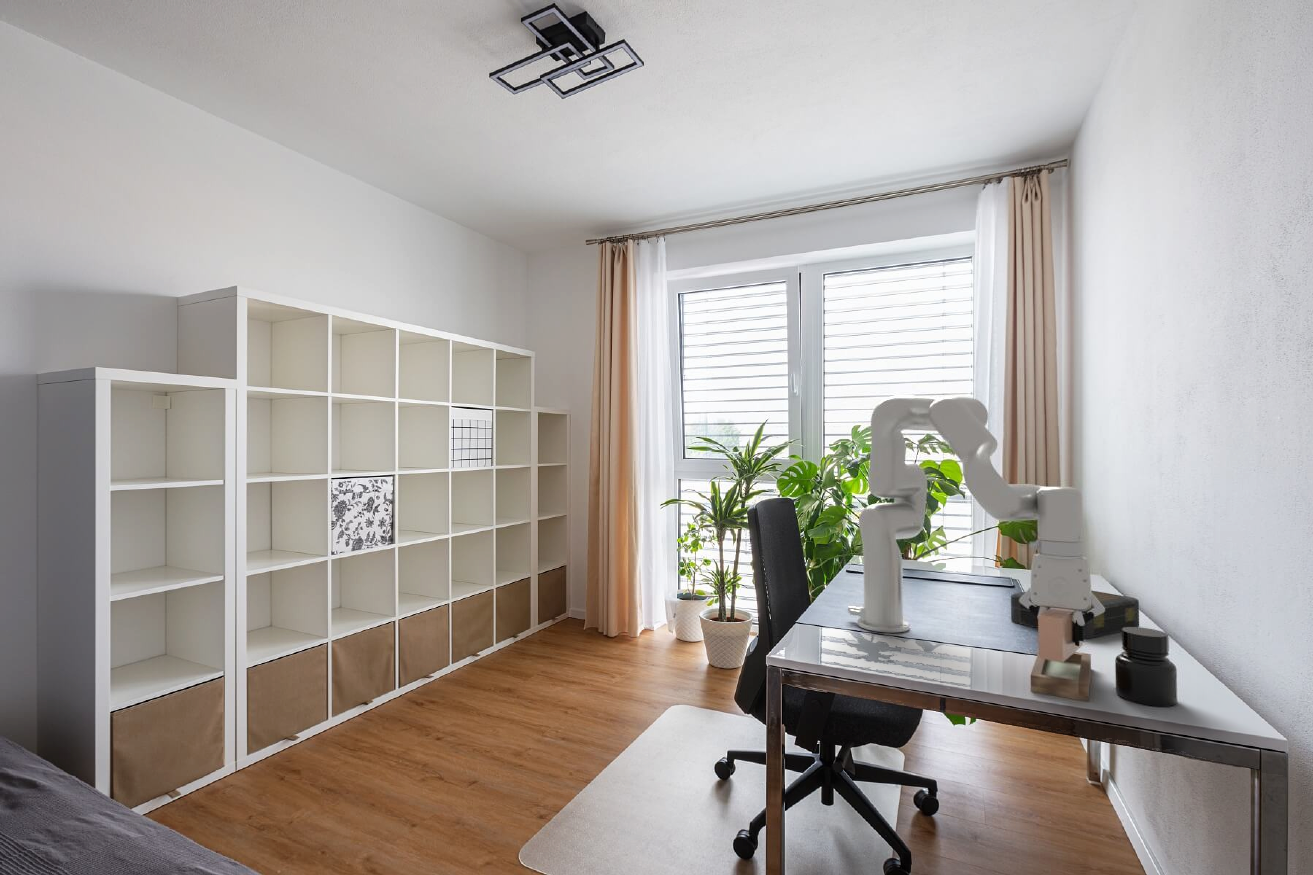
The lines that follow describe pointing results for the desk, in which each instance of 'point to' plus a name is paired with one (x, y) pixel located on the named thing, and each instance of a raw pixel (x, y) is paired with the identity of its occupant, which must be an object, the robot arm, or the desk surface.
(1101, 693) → the desk surface
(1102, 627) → the cash box
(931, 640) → the desk surface
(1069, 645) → the pink rectangular block
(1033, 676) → the tray
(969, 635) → the desk surface
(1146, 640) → the ink bottle
